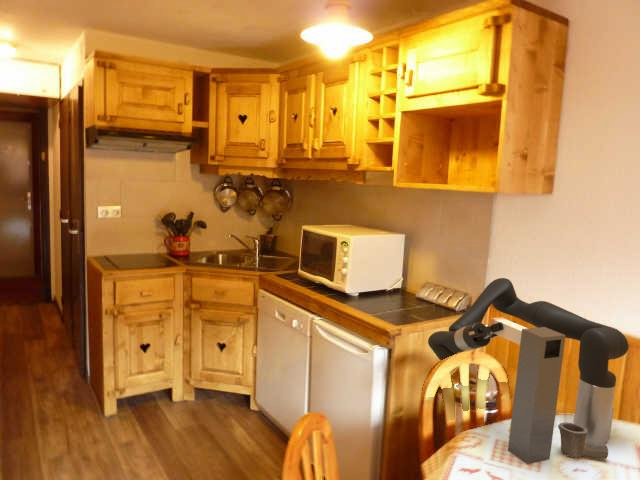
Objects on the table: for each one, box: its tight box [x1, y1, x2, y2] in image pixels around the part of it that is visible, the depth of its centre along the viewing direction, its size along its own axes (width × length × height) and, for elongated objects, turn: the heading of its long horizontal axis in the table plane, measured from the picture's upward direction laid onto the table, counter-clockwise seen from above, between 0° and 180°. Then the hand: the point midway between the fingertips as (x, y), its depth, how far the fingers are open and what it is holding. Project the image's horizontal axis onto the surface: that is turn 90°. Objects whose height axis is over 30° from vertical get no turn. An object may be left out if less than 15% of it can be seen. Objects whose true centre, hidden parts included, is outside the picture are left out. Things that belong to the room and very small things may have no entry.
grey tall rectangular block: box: [507, 327, 566, 465], centre depth 133 cm, size 8×7×35 cm
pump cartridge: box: [490, 316, 528, 346], centre depth 141 cm, size 4×15×4 cm, turn 22°
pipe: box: [557, 421, 609, 459], centre depth 136 cm, size 6×13×8 cm, turn 78°
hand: (508, 325), depth 143 cm, fingers closed on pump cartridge, 4 cm apart
